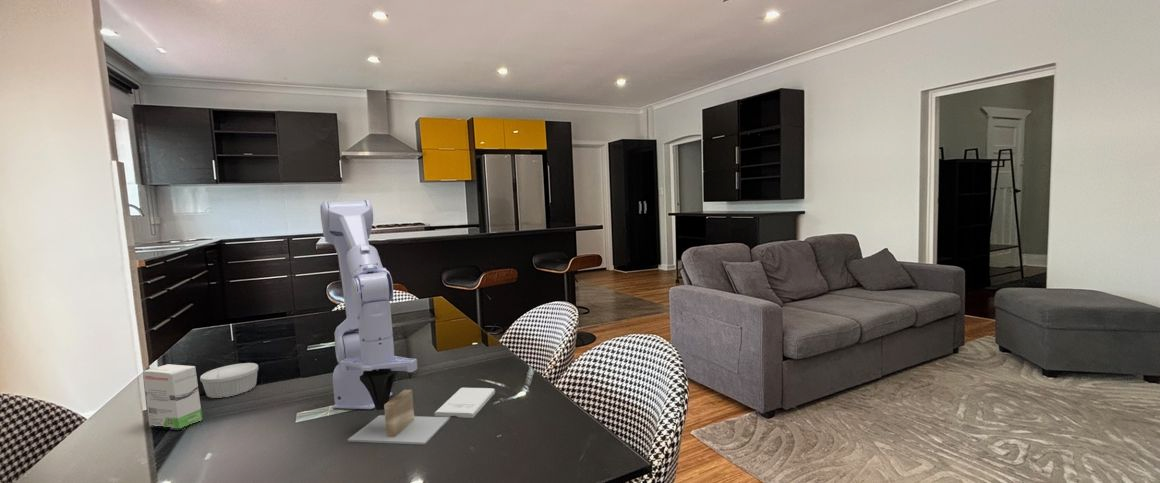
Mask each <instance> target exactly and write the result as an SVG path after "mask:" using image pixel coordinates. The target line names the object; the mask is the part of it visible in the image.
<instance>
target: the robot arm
mask: <svg viewBox="0 0 1160 483" xmlns="http://www.w3.org/2000/svg"><path fill="white" fill-rule="evenodd" d="M319 210H320V211H319V212H320V220H321V229H322V234H323V237H324V239H325V240H324V241H325V243H328V244H331V245H333V246H334V249H335V251H336V254H337V258H338V264H339V272H340V279H341V286H342V295H343V300H344V308H345V309H344V310H345V314H346V315H345V316H346V318H345V319H344V320H343V321H341V323H340V324H339V325H337V326H336V328H335V331H334V350H335V357H336V361H337V363H338V364H337V365H336V366H335V367H334V370H333V371H332V372H333V373H332V388H333V399H334V400H333V401H334V404H333V405H332V408H333V409H349V410H350V409H351V410H353V409H354V410H373V409H375V410H376V411H384V410H385V409H384V404H386V403H387V402H388V401H390V397H391V396H392V395H393V392H391V391H392V388H393V385H394V382H395V380H396V377H397V375H398V373H399V372H407V373H413V372H415V371H417V369H418V360H417V358H409V357H403V356H397V355H395V346H394V333H393V322H392V320H393V319H392V310H391V302H392V301H393V299H394V283H393V278H392V276H391V275H392V274H391V273H390V271H389V270H387V268H386V267H384V266H383V265H382V261H381V257H380V255H379V252H378V250H377V248H376V247H375V246H373V245H372V244H370V243H369V242H370V241H369V239H370V235H371V234H372V227H373V225H374V209H373V205H372V203H371V201H369V200H368V199H364V200H345V201H344V200H343V201H342V200H341V201H327V200H322V202H321V203H320V209H319ZM389 301H390V302H389Z"/></svg>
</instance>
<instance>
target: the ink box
mask: <svg viewBox="0 0 1160 483" xmlns="http://www.w3.org/2000/svg"><path fill="white" fill-rule="evenodd" d="M142 375H143V377H142V378H143V385H144V393H145V399H146V408H147V417H148V424H149V426H150V425H154V426H163V427H171V428H177V429H178V428H182V427H184V426H187V425H189V424H192V423H195V422H198V421H200V422H202V421H203V413H202V407H201V400H200V392H199V391H200V390H199V383H198V376H197V369H196V366H195V365H182V364H169V363H166V364H164V365H160V366H156V367H153V368H149V369H145V370H144V371H142ZM201 420H202V421H201ZM198 423H199V422H198Z"/></svg>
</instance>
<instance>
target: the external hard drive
mask: <svg viewBox="0 0 1160 483" xmlns="http://www.w3.org/2000/svg"><path fill="white" fill-rule="evenodd" d="M495 394H496V389H495V388H493V387H492V388H489V387H460V388H459V389H458V390H457V391H456V392H455V393H453V395H451V397H450V398H448V399H447V400H446V401H445V402H444V403H443V404H442V405H441V406H440V407H439V408H438V409H437V410H436V411H435V412H434V417H450V418H452V417H453V418H454V417H455V418H456V417H457V418H467V419H468V418H469V419H470V418H471V419H473V418H475V416H477V414H478V413H479V412H480V411H481V409H483V407H484V406H486V404H487V403H488V401H490V399H492V397H493V396H494V395H495Z"/></svg>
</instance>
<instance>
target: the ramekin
mask: <svg viewBox="0 0 1160 483" xmlns="http://www.w3.org/2000/svg"><path fill="white" fill-rule="evenodd" d="M258 371H259V365H258V364H257V363H254V362H245V363H244V362H243V363H235V364H229V365H224V366H221V367H217V368H214V369H210V370H208V371H206V372H204V373H203V374H201V375H200V378H199V380H200V382H201V383H202V386H203V389H204V392H205V394H206V396H207V397H208V398H210V397H211V398H210V399H212V398H222V397H229V396H233V395H237V394H240V393H243V392H246V391H248V390H250V391H252V390H253V389H254V388H255V387H256V385H257V380H258ZM252 388H253V389H252ZM251 389H252V390H251ZM246 393H247V392H246ZM233 397H234V396H233ZM229 398H230V397H229Z"/></svg>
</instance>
